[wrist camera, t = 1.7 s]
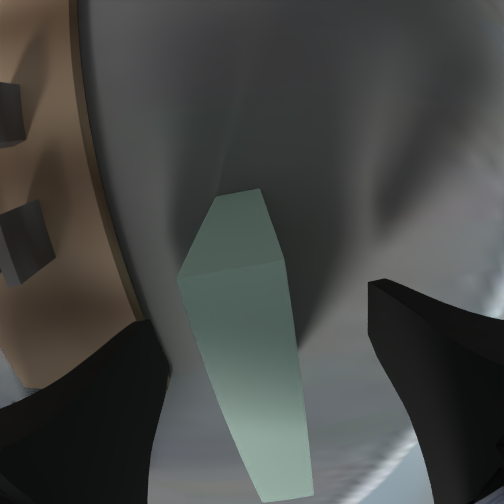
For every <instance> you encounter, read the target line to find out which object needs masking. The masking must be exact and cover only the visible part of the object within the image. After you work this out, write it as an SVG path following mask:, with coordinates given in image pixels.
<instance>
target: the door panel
mask: <svg viewBox="0 0 504 504" xmlns="http://www.w3.org/2000/svg"><path fill="white" fill-rule="evenodd" d="M176 281H177V284H178V287H179V291H180V294H181V297H182V300H183V303H184V307H185V310H186V313H187V316H188V319H189V322H190V325H191V328H192V331H193V334H194V337H195V340H196V343H197V346H198V348H199V351H200V354H201V357H202V360H203V363H204V365H205V368H206V371H207V373H208V376H209V379H210V382H211V384H212V387H213V389H214V392H215V395H216V397H217V400H218V402H219V405H220V407H221V410H222V412H223V415H224V417H225V420H226V422H227V425H228V427H229V430H230V432H231V434H232V437H233V439H234V441H235V444H236V446H237V448H238V451H239V453H240V455H241V457H242V460H243V462H244V464H245V466H246V469H247V471H248V473H249V475H250V477H251V479H252V482H253V484H254V486H255V488H256V490H257V492H258V494H259V496H260V498H261V500H262V502H272V501H281V500H288V499H295V498H301V497H307V496H312V495H314V492H313V481H312V471H311V461H310V451H309V442H308V433H307V424H306V415H305V406H304V398H303V389H302V381H301V373H300V366H299V358H298V350H297V343H296V335H295V328H294V321H293V314H292V307H291V300H290V293H289V286H288V280H287V273H286V267H285V260H284V257H283V254H282V251H281V248H280V245H279V242H278V239H277V236H276V233H275V231H274V228H273V225H272V222H271V219H270V216H269V213H268V210H267V207H266V205H265V202H264V199H263V196H262V193H261V190H260V188H258V189H253V190H247V191H242V192H237V193H231V194H226V195H221V196H216V197H215V199H214V201H213V203H212V205H211V207H210V209H209V211H208V213H207V215H206V217H205V219H204V221H203V223H202V225H201V227H200V229H199V231H198V233H197V235H196V237H195V239H194V242H193V244H192V246H191V248H190V250H189V252H188V254H187V256H186V258H185V260H184V263H183V265H182V267H181V269H180V271H179V273H178V276H177V278H176Z"/></svg>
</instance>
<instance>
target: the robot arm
mask: <svg viewBox="0 0 504 504" xmlns="http://www.w3.org/2000/svg"><path fill="white" fill-rule="evenodd" d="M368 335H369V338H370V340H371V343H372V346H373V348H374V351H375V353H376V355H377V358H378V359H379V361H380V363H381V365H382V367H383V368H384V370H385V372H386V374H387V375H388V377H389V379H390V381H391V382H392V384H393V386H394V388H395V390H396V391H397V393H398V395H399V397H400V399H401V400H402V402H403V404H404V406H405V408H406V410H407V412H408V414H409V417H410V420H411V422H412V425H413V428H414V430H415V433H416V436H417V438H418V442H419V445H420V448H421V451H422V454H423V457H424V460H425V464H426V468H427V471H428V476H429V480H430V484H431V488H432V493H433V498H434V504H504V320H500V319H496V318H491V317H487V316H483V315H480V314H476V313H472V312H469V311H466V310H463V309H460V308H457V307H454V306H452V305H449V304H446V303H443V302H441V301H438V300H436V299H434V298H431V297H429V296H426V295H424V294H422V293H420V292H417V291H415V290H413V289H410V288H408V287H406V286H404V285H401V284H399V283H396V282H394V281H391V280H388V279H385V278H384V279H380V280H375V281H371V282H368ZM168 372H169V365H168V362H167V360H166V358H165V356H164V353H163V351H162V348H161V346H160V344H159V341H158V339H157V336H156V334H155V331H154V329H153V326H152V324H151V321H150V320H143V321H134V322H133V323H131V324H129V325H128V326H126V327H125V328H124V329H123V330H121V331H120V332H119V333H117V334H116V335H115V336H114V337H113V338H111V339H110V340H109V341H108V342H106V343H105V344H104V345H103V346H102V347H100V348H99V349H98V350H97V351H96V352H94V353H93V354H92V355H91V356H89V357H88V358H87V359H85V360H84V361H83V362H82V363H80V364H79V365H78V366H76V367H75V368H74V369H73V370H71V371H70V372H68V373H67V374H66V375H64V376H63V377H61V378H60V379H58V380H56V381H55V382H53V383H52V384H50V385H49V386H47V387H45V388H43V389H42V390H40V391H38V392H36V393H34V394H32V395H30V396H28V397H26V398H24V399H22V400H20V401H18V402H16V403H13V404H11V405H9V406H6V407H3V408H1V409H0V504H147V496H148V476H149V466H150V457H151V450H152V445H153V441H154V437H155V433H156V429H157V425H158V421H159V417H160V413H161V410H162V406H163V402H164V398H165V394H166V389H167V381H168Z"/></svg>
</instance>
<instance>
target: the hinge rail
mask: <svg viewBox="0 0 504 504" xmlns="http://www.w3.org/2000/svg"><path fill="white" fill-rule="evenodd" d="M143 320H145V319H144V316H143V313H142V311H141V308H140V305H139V303H138V300H137V297H136V295H135V292H134V289H133V286H132V283H131V280H130V278H129V275H128V272H127V269H126V266H125V263H124V260H123V256H122V253H121V250H120V247H119V244H118V240H117V237H116V234H115V230H114V227H113V223H112V220H111V216H110V213H109V209H108V205H107V201H106V197H105V194H104V190H103V185H102V181H101V177H100V173H99V168H98V164H97V159H96V155H95V150H94V145H93V140H92V135H91V129H90V124H89V118H88V112H87V105H86V99H85V92H84V84H83V76H82V67H81V57H80V46H79V31H78V9H77V0H0V347H1V349H2V351H3V353H4V355H5V356H6V358H7V360H8V361H9V363H10V365H11V366H12V368H13V370H14V371H15V373H16V374H17V376H18V378H19V379H20V381H21V382H22V384H23V385H24V387H27V388H37V389H43V388H45V387H47V386H49V385H50V384H52V383H53V382H55V381H56V380H58V379H60V378H61V377H63V376H64V375H66V374H67V373H68V372H70V371H71V370H73V369H74V368H75V367H76V366H78V365H79V364H80V363H82V362H83V361H84V360H85V359H87V358H88V357H89V356H91V355H92V354H93V353H94V352H96V351H97V350H98V349H99V348H100V347H102V346H103V345H104V344H105V343H106V342H108V341H109V340H110V339H111V338H113V337H114V336H115V335H116V334H117V333H119V332H120V331H121V330H123V329H124V328H125V327H126V326H128V325H129V324H131V323H133V322H134V321H143ZM169 381H170V378H169V375H168V381H167V388H168V385H169ZM166 390H167V389H166Z"/></svg>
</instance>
